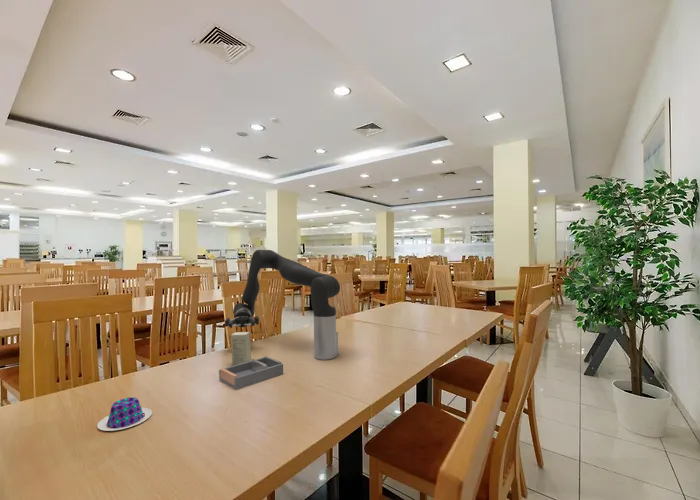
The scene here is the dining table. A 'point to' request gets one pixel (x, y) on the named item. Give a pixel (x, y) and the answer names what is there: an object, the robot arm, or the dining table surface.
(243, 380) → the pusher lane
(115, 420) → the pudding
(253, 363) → the bar
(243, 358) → the skincare box
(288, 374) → the dining table surface
